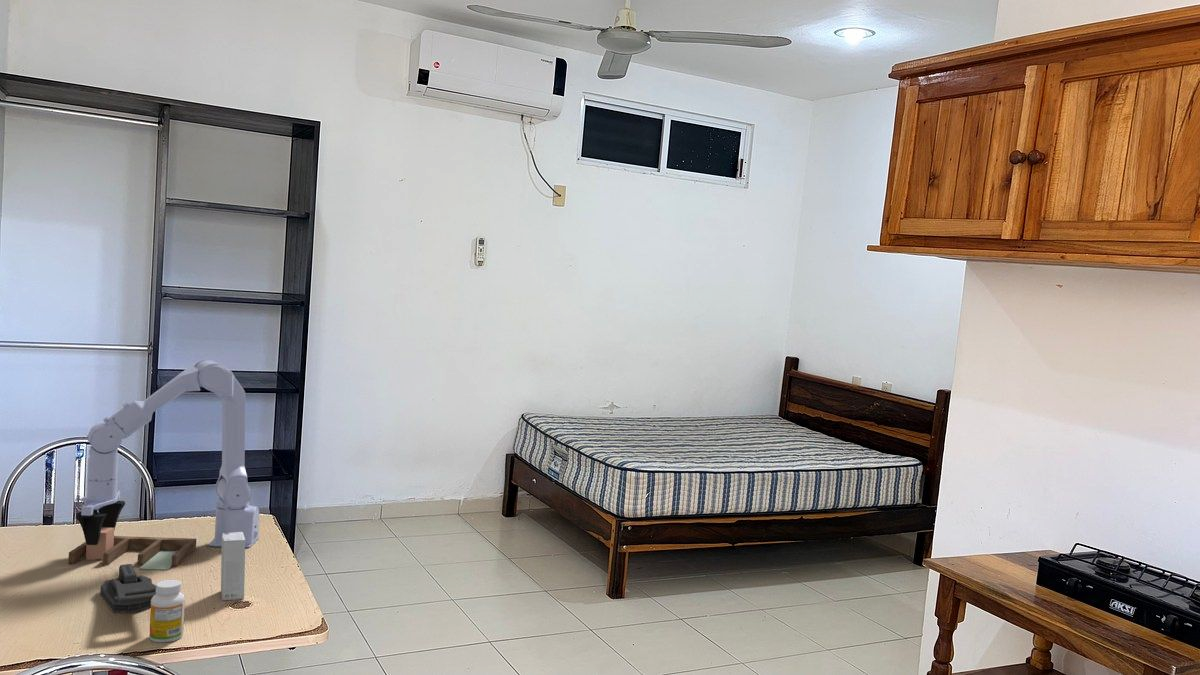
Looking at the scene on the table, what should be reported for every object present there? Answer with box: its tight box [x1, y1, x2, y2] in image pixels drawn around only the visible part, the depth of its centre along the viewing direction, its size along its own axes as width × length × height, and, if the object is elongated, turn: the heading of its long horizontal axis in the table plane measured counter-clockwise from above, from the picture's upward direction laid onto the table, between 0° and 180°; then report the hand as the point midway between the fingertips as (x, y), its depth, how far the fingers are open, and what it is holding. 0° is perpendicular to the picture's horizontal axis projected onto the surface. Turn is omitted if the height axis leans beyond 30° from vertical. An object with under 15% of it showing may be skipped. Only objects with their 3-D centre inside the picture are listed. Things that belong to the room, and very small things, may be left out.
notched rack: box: [68, 535, 197, 571], centre depth 193 cm, size 22×14×2 cm, turn 97°
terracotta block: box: [85, 527, 115, 561], centre depth 192 cm, size 4×4×6 cm
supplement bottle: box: [149, 579, 186, 643], centre depth 154 cm, size 5×5×10 cm
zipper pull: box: [99, 563, 157, 614], centre depth 166 cm, size 9×7×25 cm
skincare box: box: [220, 532, 246, 601], centre depth 176 cm, size 6×4×12 cm
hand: (100, 539), depth 192 cm, fingers open, 7 cm apart
